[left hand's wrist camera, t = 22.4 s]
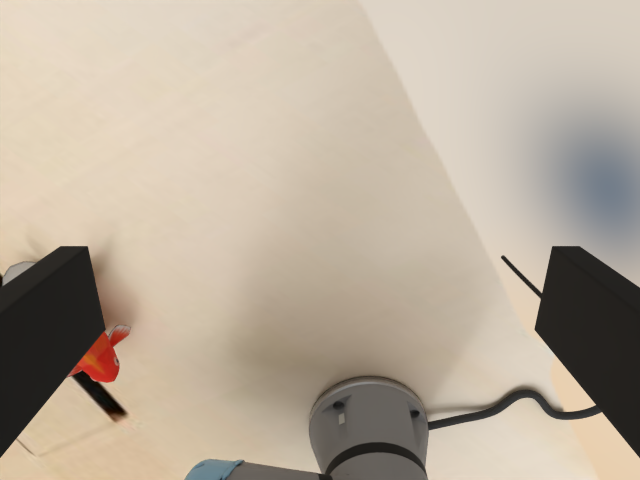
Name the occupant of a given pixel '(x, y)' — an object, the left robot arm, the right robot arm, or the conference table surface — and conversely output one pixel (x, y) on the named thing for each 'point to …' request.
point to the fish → (101, 354)
